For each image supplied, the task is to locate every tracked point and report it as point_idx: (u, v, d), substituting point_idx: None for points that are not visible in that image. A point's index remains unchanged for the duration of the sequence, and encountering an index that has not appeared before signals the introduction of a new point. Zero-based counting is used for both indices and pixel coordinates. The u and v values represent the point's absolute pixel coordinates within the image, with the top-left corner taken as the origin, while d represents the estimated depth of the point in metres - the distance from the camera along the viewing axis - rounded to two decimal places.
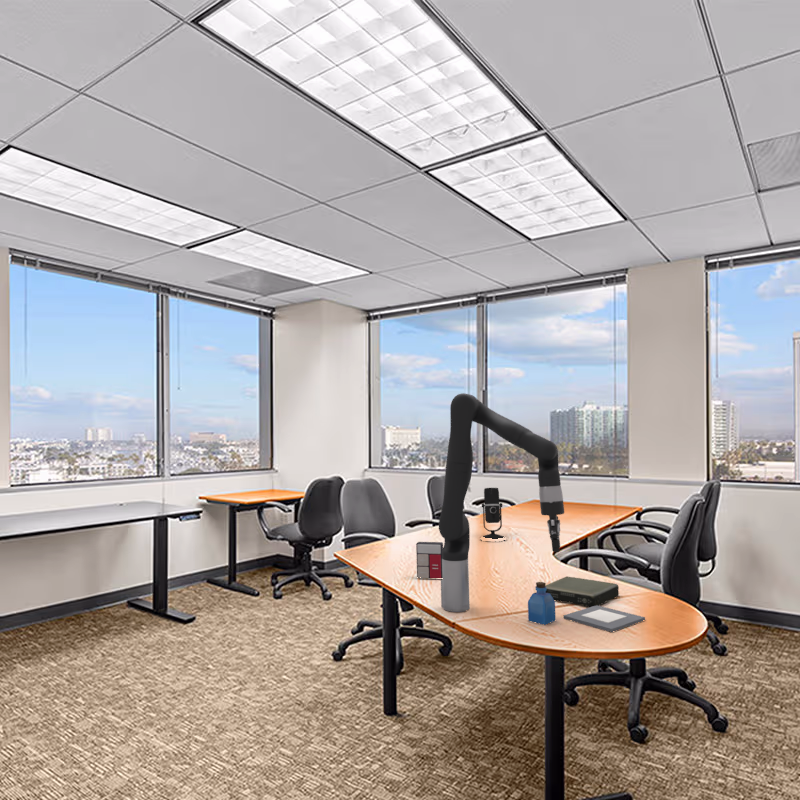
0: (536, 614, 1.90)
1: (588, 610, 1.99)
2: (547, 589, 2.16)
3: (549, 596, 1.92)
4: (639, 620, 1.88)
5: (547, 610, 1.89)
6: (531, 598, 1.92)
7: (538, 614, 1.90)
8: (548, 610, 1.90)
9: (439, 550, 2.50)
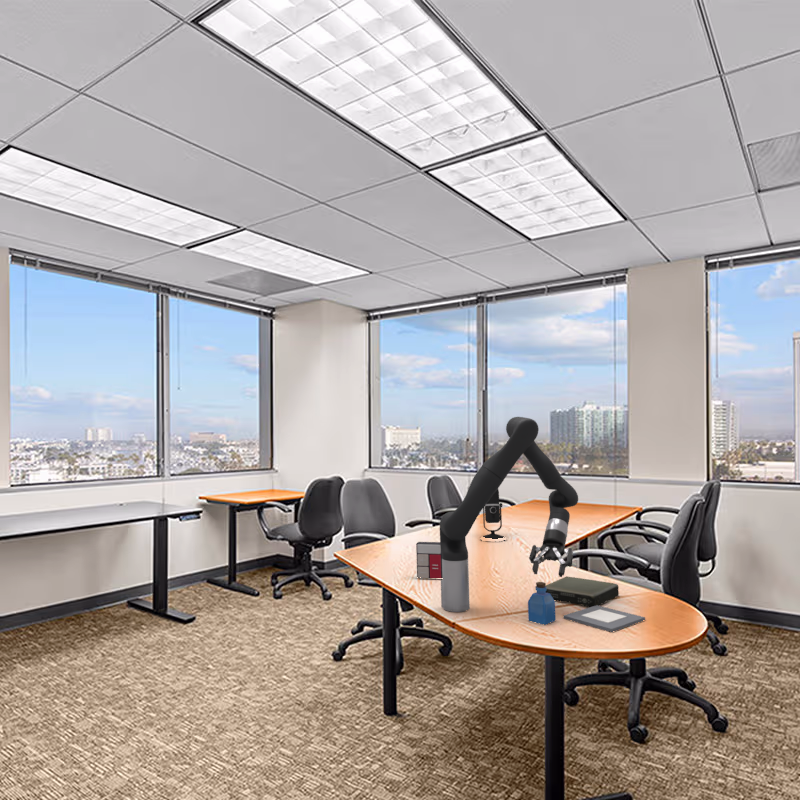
0: (536, 614, 1.90)
1: (588, 610, 1.99)
2: (547, 589, 2.16)
3: (549, 596, 1.92)
4: (639, 620, 1.88)
5: (547, 610, 1.89)
6: (531, 598, 1.92)
7: (538, 614, 1.90)
8: (548, 610, 1.90)
9: (439, 550, 2.50)
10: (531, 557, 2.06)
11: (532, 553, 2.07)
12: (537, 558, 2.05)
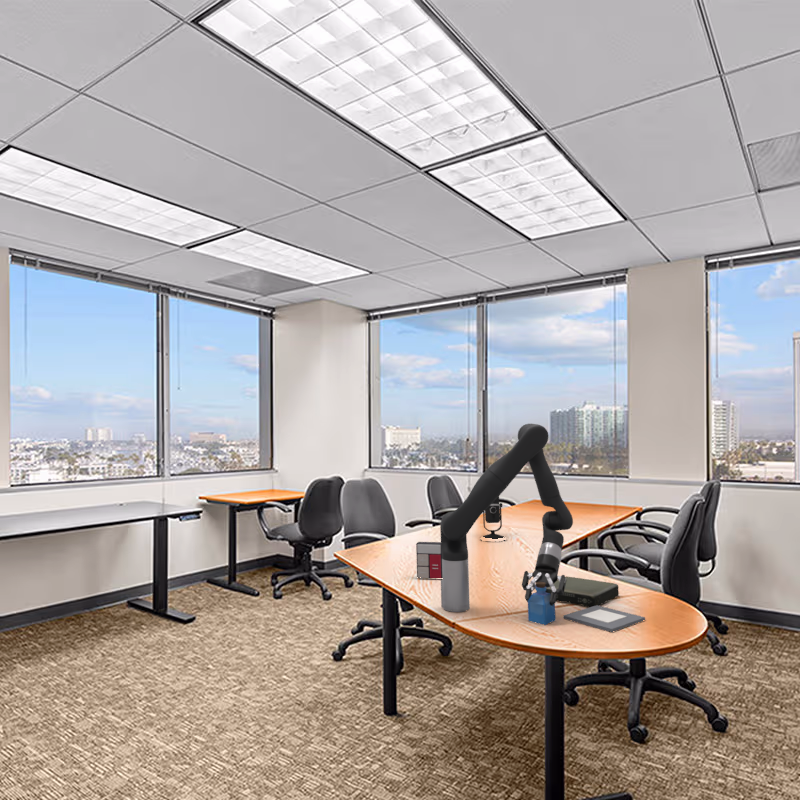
0: (536, 614, 1.90)
1: (588, 610, 1.99)
2: (547, 589, 2.16)
3: (549, 596, 1.92)
4: (639, 620, 1.88)
5: (547, 610, 1.89)
6: (531, 598, 1.92)
7: (538, 614, 1.90)
8: (548, 610, 1.90)
9: (439, 550, 2.50)
10: (524, 584, 1.97)
11: (524, 580, 1.98)
12: (530, 585, 1.96)
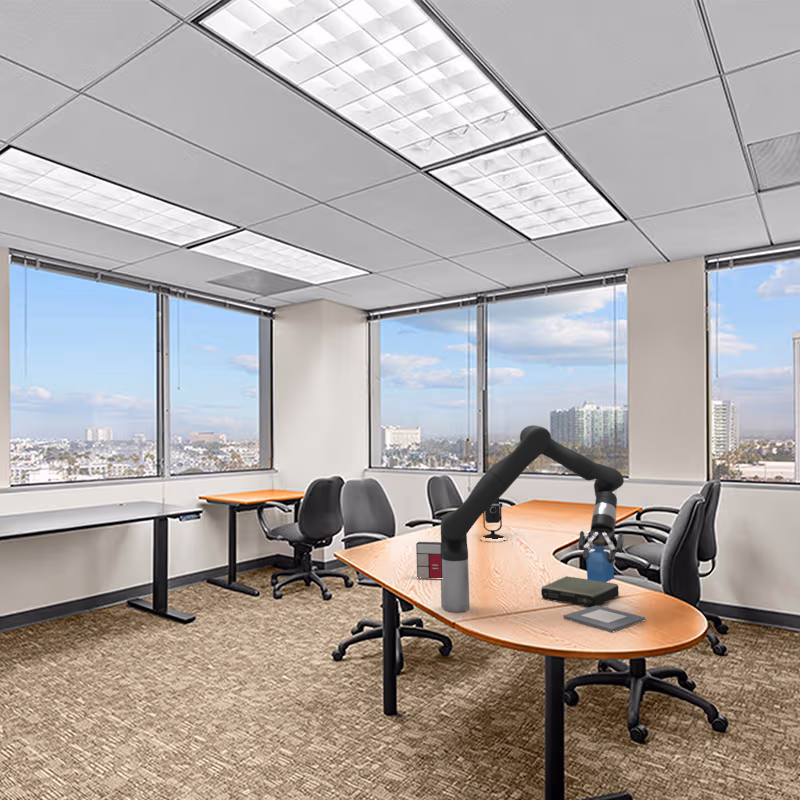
0: (596, 572, 1.91)
1: (588, 610, 1.99)
2: (547, 589, 2.16)
3: (607, 554, 1.93)
4: (639, 620, 1.88)
5: (607, 568, 1.90)
6: (589, 556, 1.93)
7: (597, 572, 1.90)
8: (607, 568, 1.90)
9: (439, 550, 2.50)
10: (581, 544, 1.98)
11: (581, 539, 1.99)
12: (587, 545, 1.97)
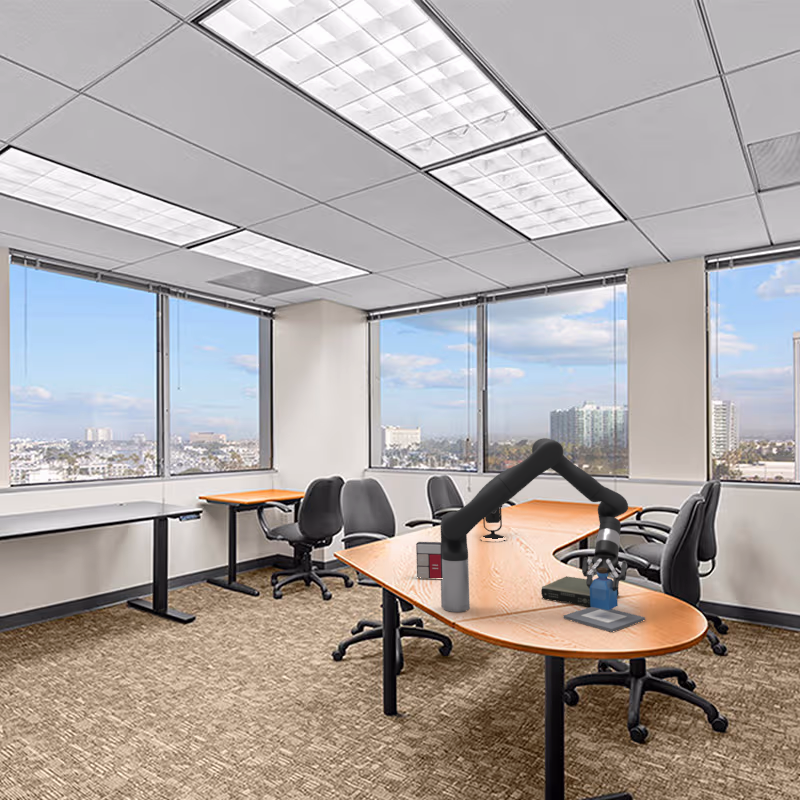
0: (599, 599, 1.90)
1: (588, 610, 1.99)
2: (547, 589, 2.16)
3: (611, 581, 1.92)
4: (639, 620, 1.88)
5: (610, 596, 1.90)
6: (593, 584, 1.92)
7: (601, 600, 1.90)
8: (611, 595, 1.90)
9: (439, 550, 2.50)
10: (584, 570, 1.97)
11: (584, 566, 1.98)
12: (591, 571, 1.96)
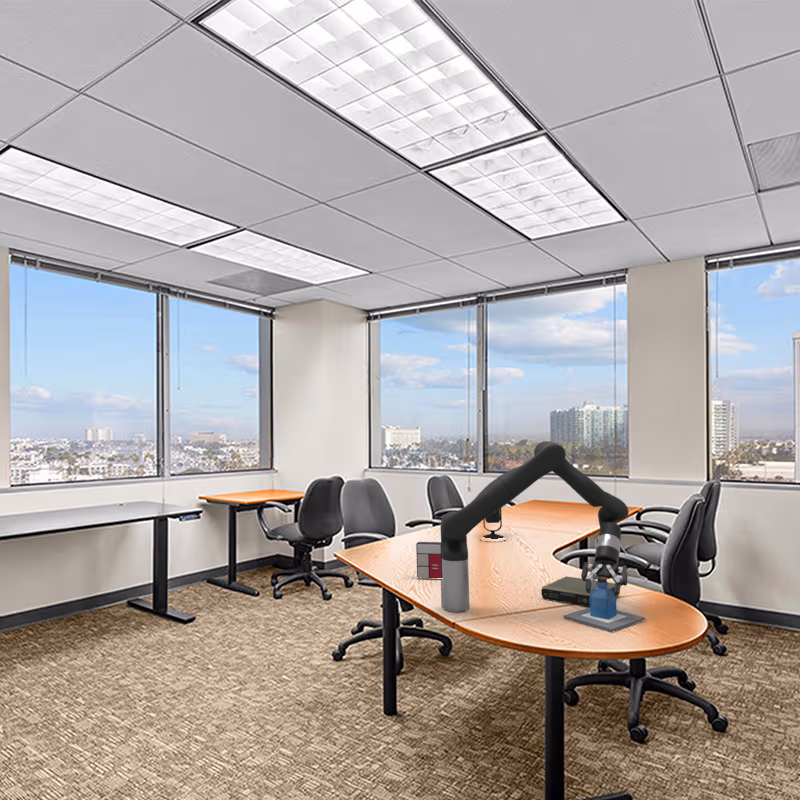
0: (599, 609, 1.90)
1: (588, 610, 1.99)
2: (547, 589, 2.16)
3: (611, 591, 1.92)
4: (639, 620, 1.88)
5: (610, 605, 1.90)
6: (593, 593, 1.92)
7: (601, 609, 1.90)
8: (611, 605, 1.90)
9: (439, 550, 2.50)
10: (583, 575, 1.97)
11: (584, 570, 1.99)
12: (590, 576, 1.96)
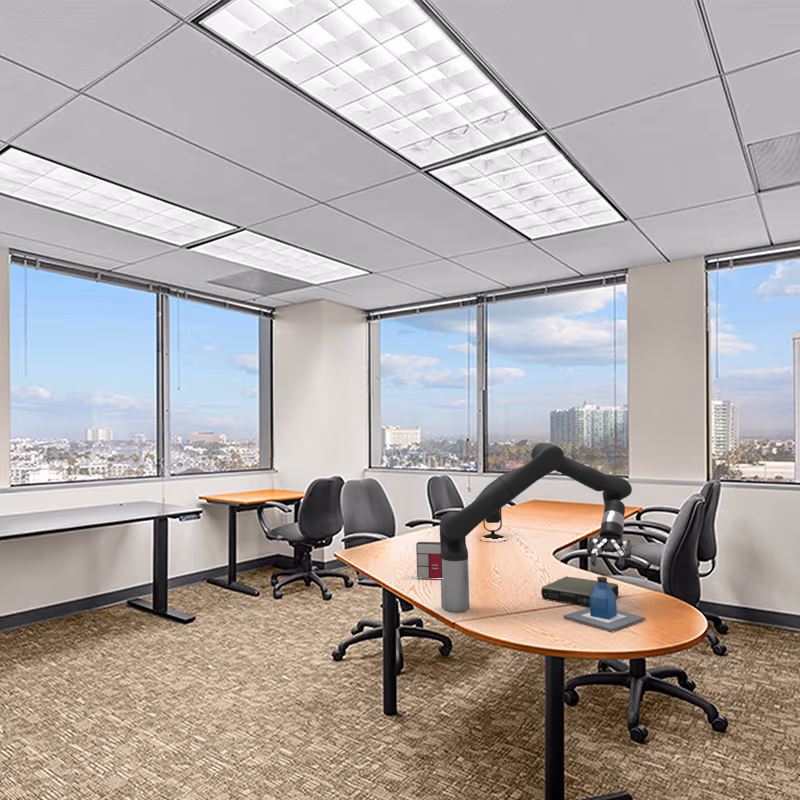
0: (599, 609, 1.90)
1: (588, 610, 1.99)
2: (547, 589, 2.16)
3: (611, 591, 1.92)
4: (639, 620, 1.88)
5: (610, 605, 1.90)
6: (593, 593, 1.92)
7: (601, 609, 1.90)
8: (611, 605, 1.90)
9: (439, 550, 2.50)
10: (589, 549, 2.06)
11: (589, 545, 2.07)
12: (595, 550, 2.05)
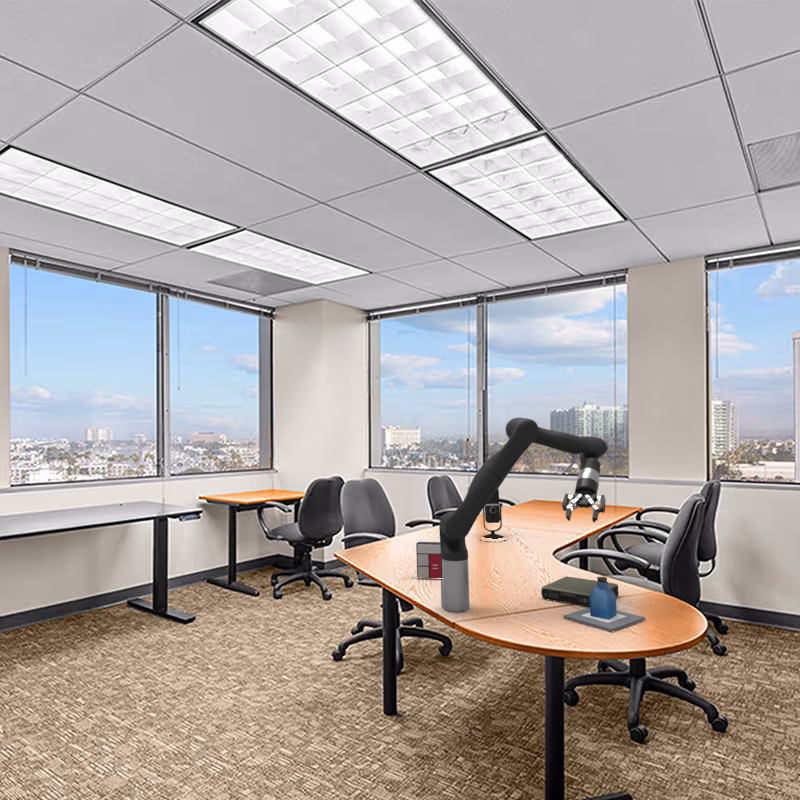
0: (599, 609, 1.90)
1: (588, 610, 1.99)
2: (547, 589, 2.16)
3: (611, 591, 1.92)
4: (639, 620, 1.88)
5: (610, 605, 1.90)
6: (593, 593, 1.92)
7: (601, 609, 1.90)
8: (611, 605, 1.90)
9: (439, 550, 2.50)
10: (564, 504, 2.09)
11: (565, 501, 2.10)
12: (570, 505, 2.08)
